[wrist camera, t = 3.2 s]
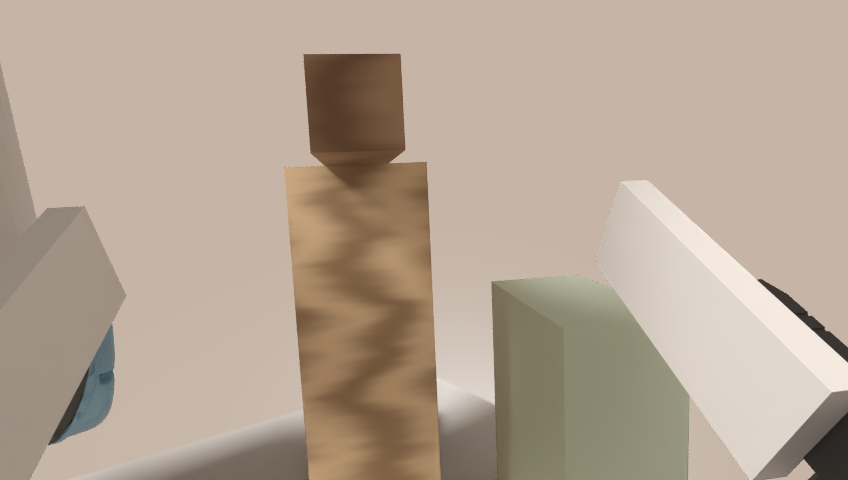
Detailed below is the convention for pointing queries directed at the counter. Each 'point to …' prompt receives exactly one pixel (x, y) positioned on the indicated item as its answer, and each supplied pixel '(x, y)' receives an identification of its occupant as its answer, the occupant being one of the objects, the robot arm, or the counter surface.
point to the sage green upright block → (581, 387)
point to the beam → (354, 108)
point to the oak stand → (365, 320)
